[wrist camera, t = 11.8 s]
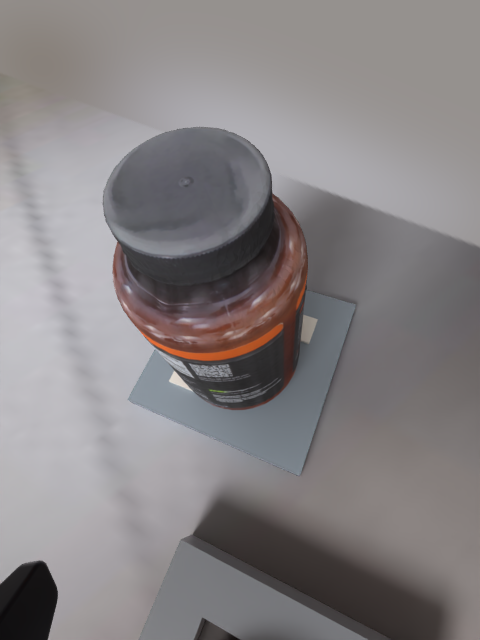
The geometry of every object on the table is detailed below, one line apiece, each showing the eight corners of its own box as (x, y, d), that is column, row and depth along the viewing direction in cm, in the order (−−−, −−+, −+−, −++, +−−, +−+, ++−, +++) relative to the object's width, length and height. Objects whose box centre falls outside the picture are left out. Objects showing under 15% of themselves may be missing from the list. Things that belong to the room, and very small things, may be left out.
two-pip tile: (354, 310, 20) (356, 302, 19) (299, 476, 16) (300, 475, 16) (206, 264, 22) (203, 256, 21) (131, 402, 19) (126, 398, 18)
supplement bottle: (262, 285, 20) (243, 68, 10) (322, 376, 17) (380, 210, 7) (163, 334, 19) (34, 155, 9) (211, 437, 17) (104, 347, 7)
